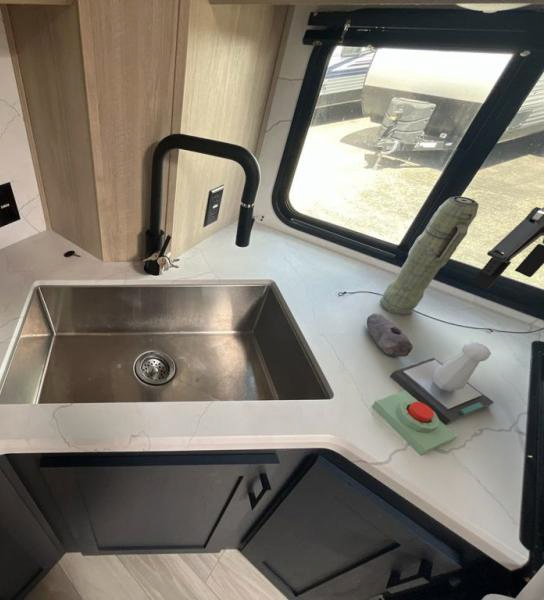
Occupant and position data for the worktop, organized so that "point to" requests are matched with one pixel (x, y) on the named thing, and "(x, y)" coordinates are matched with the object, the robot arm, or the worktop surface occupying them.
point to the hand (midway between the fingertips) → (501, 279)
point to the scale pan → (425, 382)
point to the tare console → (413, 423)
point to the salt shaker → (460, 367)
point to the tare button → (420, 412)
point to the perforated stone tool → (388, 336)
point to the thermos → (429, 254)
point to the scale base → (441, 413)
